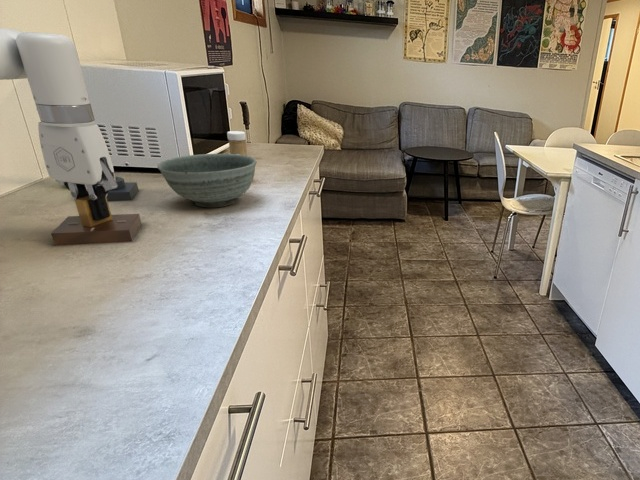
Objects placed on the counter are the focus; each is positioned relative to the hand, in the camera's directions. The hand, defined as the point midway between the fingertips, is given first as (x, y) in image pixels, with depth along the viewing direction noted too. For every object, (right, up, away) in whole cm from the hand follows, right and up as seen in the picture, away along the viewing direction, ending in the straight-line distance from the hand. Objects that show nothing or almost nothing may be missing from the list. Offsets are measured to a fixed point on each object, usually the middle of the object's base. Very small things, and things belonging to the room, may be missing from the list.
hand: (96, 217), depth 89 cm
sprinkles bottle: (+9, +17, +43) cm, 47 cm away
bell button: (-14, +12, +22) cm, 28 cm away
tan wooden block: (0, -1, +1) cm, 1 cm away
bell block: (-14, +9, +23) cm, 29 cm away
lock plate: (0, -3, +2) cm, 4 cm away
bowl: (+10, +8, +25) cm, 28 cm away
